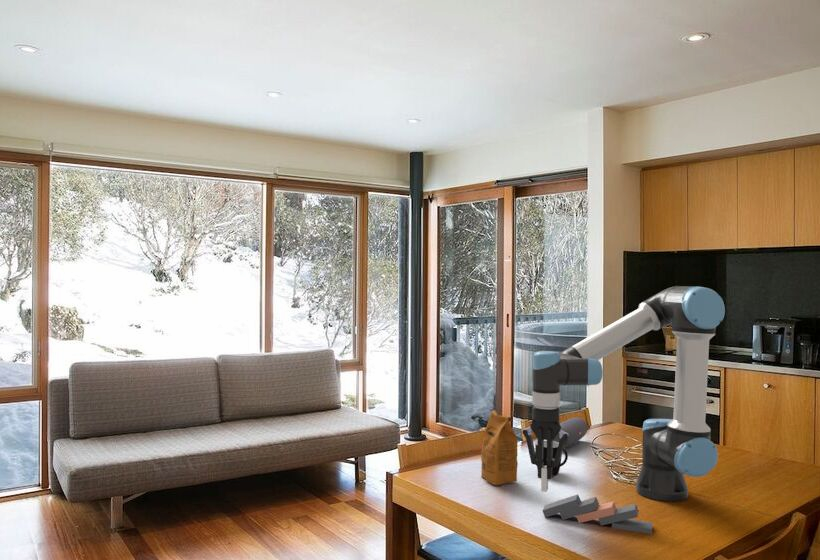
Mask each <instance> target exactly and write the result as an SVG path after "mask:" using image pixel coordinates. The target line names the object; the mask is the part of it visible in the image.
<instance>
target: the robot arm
mask: <svg viewBox="0 0 820 560" xmlns="http://www.w3.org/2000/svg"><path fill="white" fill-rule="evenodd" d="M725 313H726V308H725V304H724V300H723V298H722V296H720V295H719V294H718V292H716V291H715V290H713V289H712V288H709V287H704V286H695V285H694V286H689V285H687V286H685V285H684V286H683V285H681V286H680V285H675V286H672V287H668V288H666V289H663V290H661V291H660V292H658V293H656V294H654V295H652V296H650V297H649V298H647V299H645V300H643V301H642V302H641V303H639V304H638V307H637V309H635V310H633V311H631V312H629V313H627V314H626V315H624V316H622V317H621V318H619V319H618V320H616V321H614V322H612V323H610V324H609V325H607V326H605V327H603V328H601V329H599V330H598V331H596V332H595V333H593V334H591V335H589V336H588V337H586V338H584V339H583V340H581V341H579V342H577V343H576V344H574V345H572V346H569V347H568V348H566V349H564V350H563V351H560V350H559V351H554V350H539V351H535V352H534V354H533V358H532V367H531V368H532V396H531V397H532V398H531V399H532V400H531V404H532V405H533V406H532V408H531V411H532V412H531V423H530V425H529V426H528V427H526V428H524V429H523V430H522V435H523V436H524V438H525V440H526V445H527V449H528V454H529V458H530V463H531V464H532V465H535V466H536V468H537V467H538V469H537V478H538V479H540V480H541V481H540V482H541V483H540V486H541V488H540V489H541V490H540V491H541V492H543V493H544V492H545V493H546V492H548V490H549V480H551V479H552V478H553V476H552V468H553V467H557V466H558V464H559V461H560V458H561V459H562V457H561V454H563V446H564V443H565V440H566V439H567V437H568V436H569V433H568V432H564V431H563V430H562V429H561V426H560V423H561V422H560V408H559V407H560V402H561V401H560V398H561V397H560V395H561V394H560V393H561V386H587V387H589V386H595V385H596V386H597V385H599V384H600V383H601V382H602V379H603V365H602V363H601V362H600V360H601V359H602V358H605V357H607V356H608V355H610V354H611V353H613V352H615V351H617V350H618V349H620V348H622V347H624V346H625V345H628V344H629V343H631V342H633V341H634V340H636V339H639V338H640V337H641V336H643V335H645V334H647V333H648V332H650V331H652V330H653V331H659V330H660V329H662V328H665V327H667V326H670V325H671V332H672V334H673V335H674V336H675V337H676V351H675V353H676V356H675V372H674V373H675V374H674V375H675V376H674V378H675V379H674V397H673V398H674V399H673V418H648V419H646V420H644V421H643V422H642V423H643V425H642V430H641V432H642V449H641V450H642V455H641V457H642V459H641V461H642V465H641V469H640V472H639V474H638V477H637V480H636V483H635V491H636V493H637V494H639V495H641V496H643V497H645V498H648V499H652V500H657V501H663V502H681V501H685V500H687V499H688V498H689V487H688V483H687V482H686V477H685V475H686V476H689V477H692V478H700V477H703V476H706V475H708V474H709V473H710V471H712V470H714V468H715V467H716V464H717V463H718V458H719V452H718V449H717V446H716V445H715V443H714V442H713V441H712V440H711V435H712V434H711V432H712V431H711V427H710V426H709V425H708V424H707V423H706V416H707V413H706V412H707V394H708V393H707V392H708V372H709V370H708V369H709V353H710V352H709V350H710V340H711V339H712V338H713V337H714V336H716V329H717V326H719V325H720V323H721V322H723V320H724V317H725ZM558 433H559V434H560V435H559V437H560V441H559V445H558V449H557V452H556V456H555V460H554V462H553V439H554V438H555V437H556V435H557V434H558ZM532 434H534V435H535V437H536V438H537V442H538V460H537V458H536V453H535V444H534V441H533V437H532ZM544 441H547V466H543V464H544V463H543V452H544ZM680 500H681V501H680Z"/></svg>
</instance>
